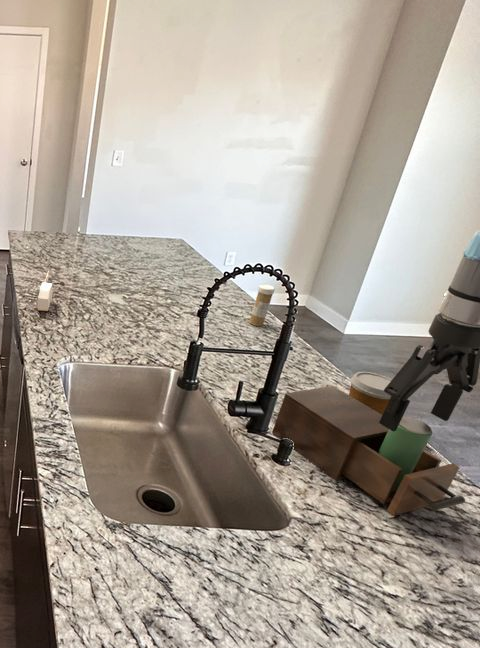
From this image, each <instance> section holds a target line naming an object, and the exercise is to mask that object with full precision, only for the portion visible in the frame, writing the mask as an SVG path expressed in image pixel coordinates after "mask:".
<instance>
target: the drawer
mask: <svg viewBox="0 0 480 648" xmlns="http://www.w3.org/2000/svg"><path fill="white" fill-rule="evenodd" d="M385 437H386V435H383V436H378V437H373V438H368V439H363V440H358V441H355V444H354V446H353V448H352V451H351V453H350V455H349V457H348V460H347V462H346V464H345V467H344V469H343V471H342V474H343V475H344V476H345V477H347V478H346V479H348V480H349V481H351V482H352V483H354V484H355V485H356V486H358V487H359V488H360V489H362V490H363V491H364V492H366V493H367V494H368V495H370V496H372V497H373V498H374V499H375V500H377V501H378V502H379V503H380V504H383V505H385V504H388V503H389V505H388V508H387V510H386V512H387V514H389V515H390V516H392V517H395V516H398V515H401V514H405V513H409V512H413V511H417V510H420V509H425V508H430V509H431V510H432V511H438V510H443V509H446V508H450V507H454V506H457V505H462V504H465V502H466V498H465V497H464V496H462V495H459V494H458V495H456V494H454V492H452V491H451V490H449V488H450V487H451V485H452V482H453V481H454V479H455V477H456V475H457V473H458V472H459V470H460V466H458V465H457V464H455V463H449V464H444V465H441V466H440V464H441V463H442V459H440V458H438V457H437V456H435V455H434V454H432V453H430V452H428V451H427V450H425V449H424V451H423V453H422V455H421V457H420V459H419V461H418V463H417V465H416V467H415V469H414V471H413V473H411V474H406V475H405V476H404V478H403V480H402V482H401V484H400V486H399V488H398V490H397V492H392V490H393V488H394V486H395V484H396V482H397V480H398V478H399V476H400V474H401V472H402V470H403V469H401V468H400V467H398V466H397V465H395V464H394V463H392V462H391V461H389V460H388V459H386V458H384V457H383V456H381V455H380V454H378V452H379V450H380V448H381V445H382V443H383V441H384V439H385ZM445 495H446V496H449V497H446V498H444V497H445Z"/></svg>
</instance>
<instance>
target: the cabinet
mask: <svg viewBox="0 0 480 648" xmlns="http://www.w3.org/2000/svg"><path fill="white" fill-rule="evenodd" d="M381 417H382V414H380V413H378V412H377V411H375V410H373V409H371V408H370V407H368V406H366V405H365V404H363V403H361V402H359V401H358V400H356V399H354V398H353V397H351V396H349V394H347V393H346V392H344V391H342V390H340V389H339V388H337V387H335V386H334V385H328V386H323V387H316V388H309V389H305V390H304V389H303V390H298V391H292V392H285V394H284V397H283V399H282V403H281V406H280V408H279V411H278V414H277V417H276V420H275V422H274V423H275V424H274V425H273V429H272V431H271V433H272V434H273V435H274V436H276V437H277V438H278V439H280V440H281V439H283V438H288V439H290V440H292V441H293V442H294V449H293V450H294V451H295V452H297V453H298V454H299V455H301V456H302V457H304V459H306V460H307V461H309V462H310V463H311V464H312V465H314V466H315V467H317V469H319V470H321V471H322V472H323V473H324V474H326V475H327V476H328V477H329V478H331V479H332V480H334V481H335V482H337V481H340V480H344V479H348V478H347V477H345V476H344V475H343V474H342V471H343V469H344V467H345V464H346V462H347V460H348V457H349V455H350V453H351V451H352V448H353V446H354V444H355V441H358V440H363V439H368V438H373V437H378V436H383V435H387V432H388V430H389V429H388V428H386V427H385V426H383V425H381V424H380V423H379V421H380V419H381Z"/></svg>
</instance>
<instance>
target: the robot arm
mask: <svg viewBox="0 0 480 648" xmlns="http://www.w3.org/2000/svg"><path fill="white" fill-rule="evenodd" d="M438 312H439V313H437V314H435V316H434V318H433V320H432V321H431V324H430V326H429V329H428V334H429V336H431V337H432V340H433V341H432V343H431V344H430V345H429V346H428V347H426V346H424V345H422V344H418V345H416V347H415V348H414V351H413V352H412V354H411V356H409V358H408V359H407V361H406V362H405V364H404V365H403V366H402V367H401V368H400V370H399V371H398V372H397V373H396V374H395V375H394V377H393V378H392V379H391V382H390V383H389V384H388V385H387V387H386V388H385V389H384V392H385V393H387V394H389V395H391V398H390V400H389V402H388V404H387V406H386V408H385V411H384V413H383V415H382V417H381V419H380V421H379V423H380V424H381V425H383V426H385V427H386V428H388V429H390V430H391V431H396V430H397V427H398V425H399V423H400V421H401V419H402V417H403V416H405V413H406V412H407V409H408V407H409V404H410V403H411V400H409V399H410V398H411V396H412V395H413V394H414V393H416V392H418V390H419V389H420V388H421V387H422V386H423V385H424V384H425V383H426V382H427V381H429V380H430V379H431V378H432V377H434V376H435V375H439V374H440V373H442V371H444V370H446V372H447V377H448V383H446V384H444V386H443V388H442V389H441V391H440V393H439V395H438V397H437V399H436V401H435V403H434V405H433V407H432V409H431V411H430V414H431V415H432V416H434V417H437V418H439V419H440V420H442V421H444V422H448V421H449V420H450V418H451V416H452V414H453V412H454V410H455V408H456V406H457V405H458V402H459V401H460V398H461V397H462V395H463V393H464V392H466V393H471V392H472V391H473V390H474V386H476V385H477V383H478V378H479V377H478V376H479V370H480V229H478V230H476V232H475V233H474V235H473V236H472V238H471V239H470V241H469V243H468V245H467V246H466V248H465V250H464V251H463V253H462V257H461V260H460V262H459V264H458V266H457V269H456V271H455V273H454V275H453V277H452V280H451V283H450V285H449V286H448V289H447V291H446V292H445V293H443V299H442V301H441V304H440V306H439V308H438Z"/></svg>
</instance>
